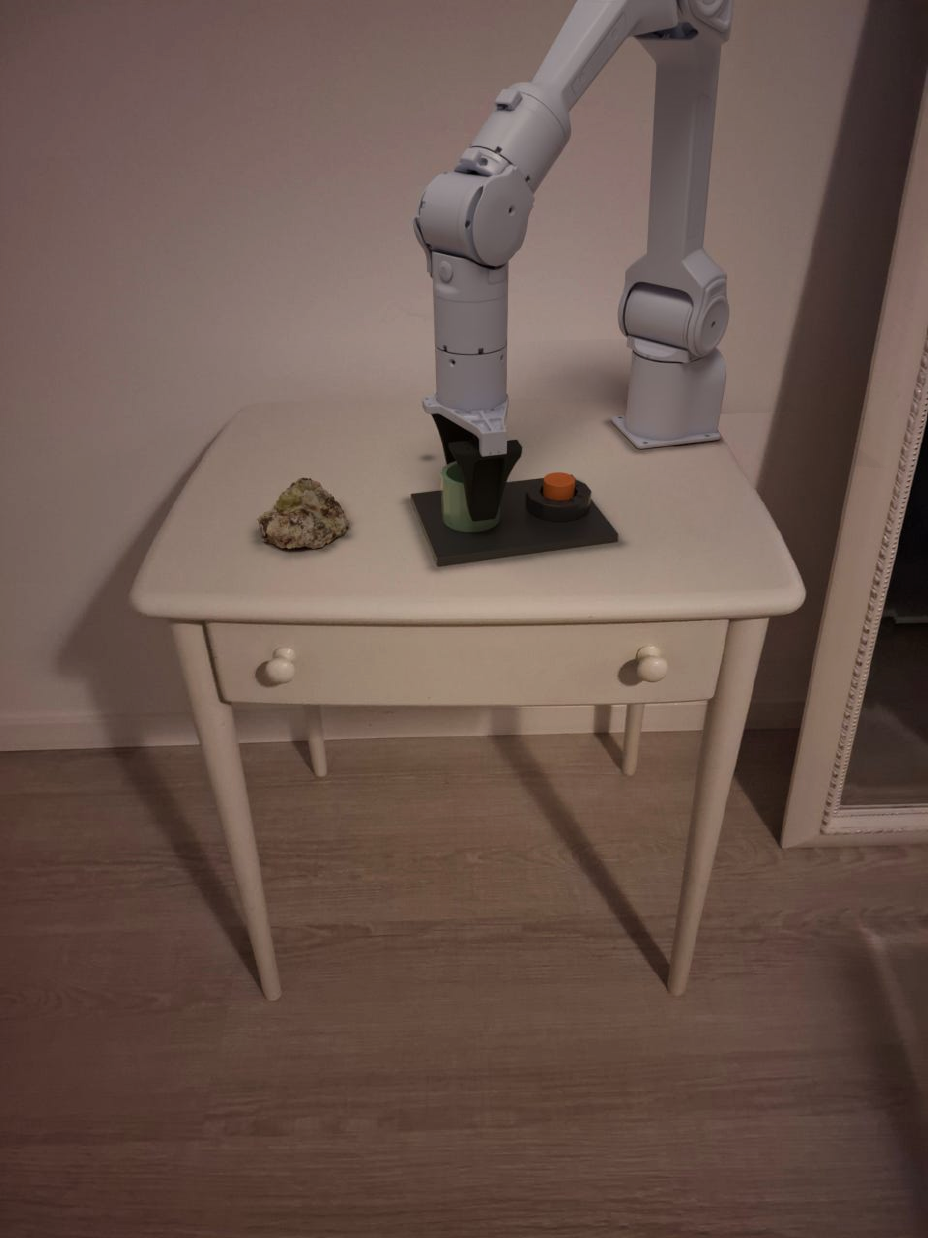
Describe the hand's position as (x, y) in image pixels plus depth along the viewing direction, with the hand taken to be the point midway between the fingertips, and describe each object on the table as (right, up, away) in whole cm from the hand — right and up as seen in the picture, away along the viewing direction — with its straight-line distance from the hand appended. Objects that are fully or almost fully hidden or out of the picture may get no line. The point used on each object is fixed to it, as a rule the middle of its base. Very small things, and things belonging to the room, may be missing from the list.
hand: (472, 497), depth 76 cm
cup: (0, -2, +1) cm, 2 cm away
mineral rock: (-15, -2, +2) cm, 15 cm away
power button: (+8, +1, +2) cm, 8 cm away
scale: (+3, -2, +2) cm, 5 cm away
